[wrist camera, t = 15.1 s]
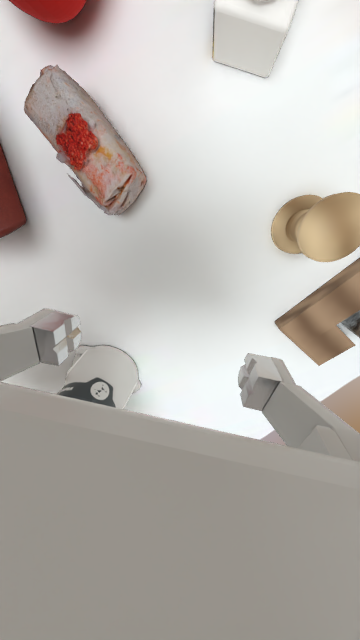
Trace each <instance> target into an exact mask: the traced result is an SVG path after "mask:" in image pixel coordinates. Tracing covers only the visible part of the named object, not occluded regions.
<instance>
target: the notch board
mask: <svg viewBox="0 0 360 640" xmlns="http://www.w3.org/2000/svg"><path fill="white" fill-rule="evenodd" d="M359 310H360V258H359V259H357V260H356V261H355V262H353V263H352V264H351V265H349V266H348V267H347V268H345V269H344V270H343V271H341V272H340V273H339V274H337V275H336V276H335V277H333V278H332V279H331V280H329V281H328V282H327V283H325V284H324V285H323V286H321V287H320V288H319V289H317V290H316V291H315V292H313V293H312V294H311V295H309V296H308V297H307V298H305V299H304V300H303V301H301V302H300V303H299V304H297V305H296V306H295V307H293V308H292V309H291V310H289V311H288V312H287V313H285V314H284V315H283V316H281V317H280V318H279V319H277V320H276V321H275V323H276V325H277V327H278V328H279V330H281V331H282V332H283V333H284V334H285V335H286V336H287V337H288V338H289V339H290V340H291V341H292V342H294V343H295V344H296V345H297V346H298V347H299V348H300V349H301V350H302V351H303V352H304V353H306V354H307V355H308V356H309V357H310V358H311V359H312V360H313V361H314V362H315V363H316V364H318V365H319V366H320V365H321V364H323V363H325V362H327V361H328V360H330V359H332V358H334V357H335V356H337V355H339V354H341V353H343V352H344V351H346V350H348V349H350V348H351V347H353V346H355V344H354V343H353V342H352V341H351V340H350V339H349V338H348V337H347V336H346V335H345V334H344V333H343V332H342V331H341V330H340V329H339V328H338V327H337V326H336V325H337V324H339V323H340V322H342V321H344V320H345V319H347V318H348V317H350V316H351V315H353V314H355V313H356V312H358V311H359Z"/></svg>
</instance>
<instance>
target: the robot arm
mask: <svg viewBox="0 0 360 640" xmlns="http://www.w3.org/2000/svg"><path fill="white" fill-rule="evenodd" d="M79 325H80V318H79V317H78V316H77V315H73V314H69V313H64V312H60V311H56V310H51V309H42V310H41V311H39V312H37V313H35V314H33V315H32V316H30V317H28V318H26V319H24V320H23V321H21V322H19V323H17V324H14V323H11V324H6V325H1V326H0V381H2V380H4V379H6V378H9V377H11V376H13V375H15V374H17V373H19V372H22V371H24V370H26V369H28V368H30V367H32V366H35V365H37V364H39V363H40V362H42V363H47V364H53V365H58V366H59V365H60V364H61V363H62V362H63V361H64V360H65V359H66V358H67V357H68V352H71V351H73V350H75V349H76V348H77V347H78V345H79V343H80V341H81V331H80V330H79V328H78V326H79ZM244 361H245V365H243V366H242V367H241V368H240V371H239V375H238V385H239V387H240V388H241V389H242V392H241V394H240V395H241V399H242V404H243V407H247V408H251V409H255V410H259V411H262V413H263V414H264V416H265V417H266V418H267V420H268V421H269V422H270V424H271V425H272V426H273V428H274V429H275V430H276V432H277V433H278V434H279V436H280V437H281V438H282V439H283V441H284V442H285V444H286V445H287V446H285V445H280V444H276V443H272V442H267V441H262V440H258V439H253V438H249V437H244V436H240V435H235V434H231V433H227V432H222V431H218V430H213V429H209V428H204V427H200V426H195V425H191V424H186V423H182V422H178V421H173V420H169V419H164V418H160V417H155V416H151V415H146V414H142V413H137V412H133V411H128V410H124V408H125V406H126V404H127V402H128V400H129V398H130V396H131V394H133V393H135V392H136V391H138V390H140V388H141V383H140V381H139V379H138V370H137V367H136V364H135V363H134V361H133V360H132V359H131V358H130V357H129V356H128V355H127V354H126V353H124V352H123V351H121V350H119V349H117V348H114V347H111V346H104V345H101V346H95V347H89V346H79V347H78V349H77V351H76V354H75V357H74V360H73V363H72V366H71V368H70V370H69V371H68V372H67V373H66V375H67V377H66V379H65V385H64V387H63V388H62V390H61V391H59V392H58V394H52V393H48V392H43V391H39V390H34V389H30V388H25V387H21V386H16V385H12V384H7V383H3V382H0V640H360V434H359V433H358V432H357V431H356V430H354V429H353V428H352V427H351V426H349V425H348V424H347V423H345V422H344V421H343V420H342V419H341V418H339V417H338V416H337V415H336V414H334V413H333V412H332V411H331V410H329V409H328V408H327V407H325V406H324V405H323V404H322V403H321V402H319V401H318V400H317V399H316V398H314V397H313V396H312V395H311V394H309V393H308V392H307V391H306V390H304V389H303V388H302V387H301V386H298V385H296V384H295V382H294V380H293V378H292V377H291V375H290V373H289V371H288V369H287V367H286V366H285V364H284V362H283V361H282V360H281V359H277V358H272V357H266V356H261V355H256V354H251V353H248V354H247V355H246V357H245V359H244Z"/></svg>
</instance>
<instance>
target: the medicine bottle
mask: <svg viewBox="0 0 360 640" xmlns="http://www.w3.org/2000/svg"><path fill="white" fill-rule="evenodd" d="M298 1H299V0H215V1H214V22H213V60H214V61H216V62H219V63H222V64H225V65H228V66H231V67H234V68H237V69H240V70H243V71H246V72H249V73H253V74H256V75H259V76H262V77H265V78H267V77H268V76H269V74H270V72H271V70H272V67H273V65H274V63H275V60H276V58H277V56H278V53H279V51H280V49H281V46H282V44H283V42H284V39H285V37H286V35H287V32H288V30H289V28H290V25H291V22H292V19H293V16H294V13H295V10H296V7H297V4H298Z"/></svg>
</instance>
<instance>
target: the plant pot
mask: <svg viewBox="0 0 360 640" xmlns="http://www.w3.org/2000/svg"><path fill="white" fill-rule="evenodd" d="M25 223H26V217H25V214H24V211H23V208H22V206H21V203H20V200H19V197H18V194H17V191H16V188H15V185H14V182H13V179H12V177H11V174H10V171H9V168H8V165H7V162H6V159H5V156H4V154H3V151H2V148H1V145H0V238H2V237H4V236H6V235H8V234H10V233H12V232H13V231H15V230H17V229H18V228H20V227H21V226H23V225H24V224H25Z"/></svg>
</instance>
